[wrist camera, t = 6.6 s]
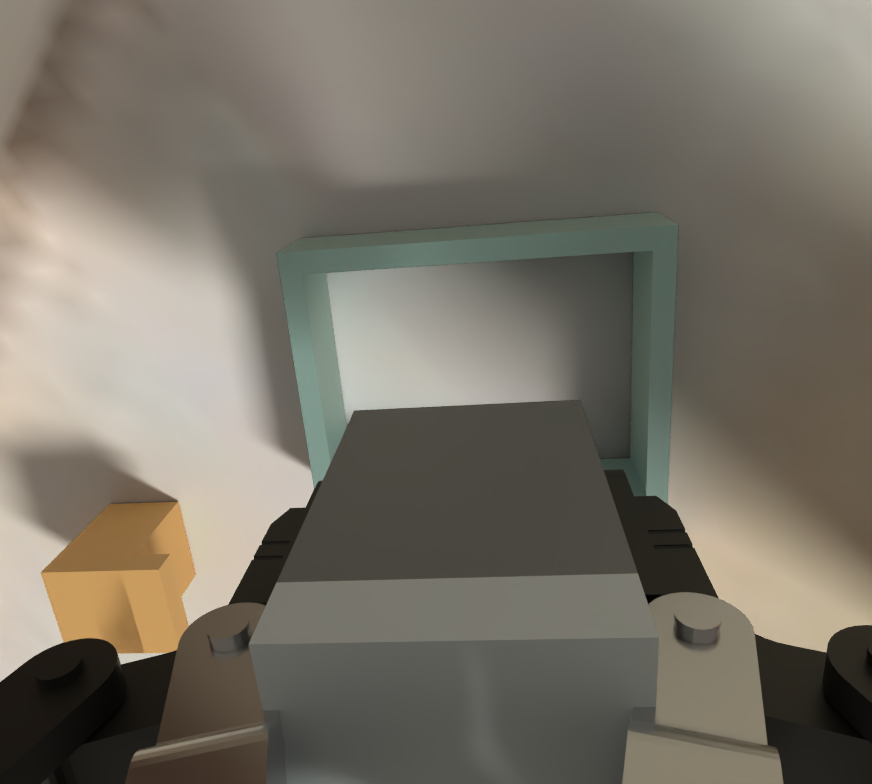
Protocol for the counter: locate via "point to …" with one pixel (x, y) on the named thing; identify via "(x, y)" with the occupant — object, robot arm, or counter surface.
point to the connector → (459, 606)
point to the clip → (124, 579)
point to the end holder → (488, 243)
